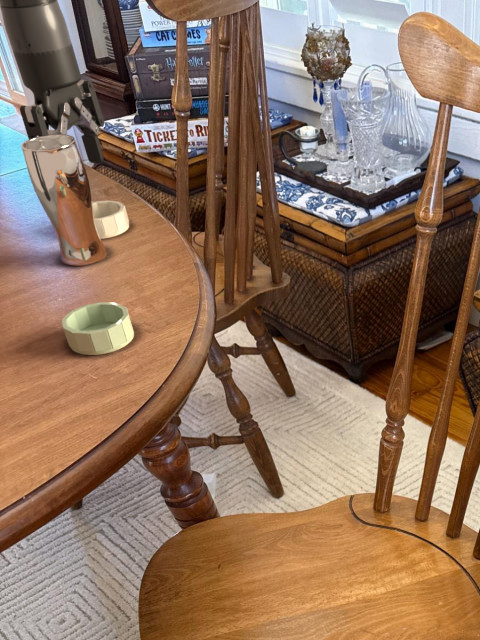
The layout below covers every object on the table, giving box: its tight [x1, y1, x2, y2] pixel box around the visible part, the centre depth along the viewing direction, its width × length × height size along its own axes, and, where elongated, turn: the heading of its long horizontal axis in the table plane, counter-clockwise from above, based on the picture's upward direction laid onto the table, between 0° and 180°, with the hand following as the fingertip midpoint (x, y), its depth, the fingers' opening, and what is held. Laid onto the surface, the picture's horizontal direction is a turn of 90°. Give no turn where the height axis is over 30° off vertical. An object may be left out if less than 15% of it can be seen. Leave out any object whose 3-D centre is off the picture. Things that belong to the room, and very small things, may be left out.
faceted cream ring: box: [92, 200, 130, 240], centre depth 115 cm, size 7×7×3 cm
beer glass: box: [20, 134, 107, 267], centre depth 104 cm, size 7×7×15 cm
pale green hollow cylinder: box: [61, 301, 135, 356], centre depth 91 cm, size 7×7×3 cm
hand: (81, 172), depth 113 cm, fingers open, 8 cm apart
